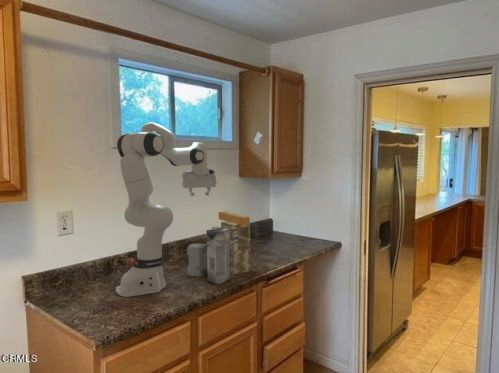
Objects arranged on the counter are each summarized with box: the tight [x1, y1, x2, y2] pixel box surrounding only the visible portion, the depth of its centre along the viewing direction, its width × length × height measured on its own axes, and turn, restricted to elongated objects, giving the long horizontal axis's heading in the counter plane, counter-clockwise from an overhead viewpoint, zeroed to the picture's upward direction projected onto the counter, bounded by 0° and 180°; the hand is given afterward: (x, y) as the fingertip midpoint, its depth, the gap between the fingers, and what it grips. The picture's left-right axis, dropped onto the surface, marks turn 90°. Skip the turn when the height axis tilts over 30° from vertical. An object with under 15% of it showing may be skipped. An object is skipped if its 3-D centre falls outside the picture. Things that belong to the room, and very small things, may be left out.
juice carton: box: [206, 225, 231, 285], centre depth 184 cm, size 9×10×27 cm
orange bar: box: [218, 211, 251, 226], centre depth 201 cm, size 4×24×4 cm, turn 35°
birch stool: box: [220, 221, 252, 276], centre depth 200 cm, size 12×10×26 cm
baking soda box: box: [234, 228, 238, 251], centre depth 239 cm, size 10×6×16 cm
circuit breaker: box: [186, 243, 207, 277], centre depth 195 cm, size 8×14×15 cm, turn 78°
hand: (199, 195), depth 214 cm, fingers open, 8 cm apart
